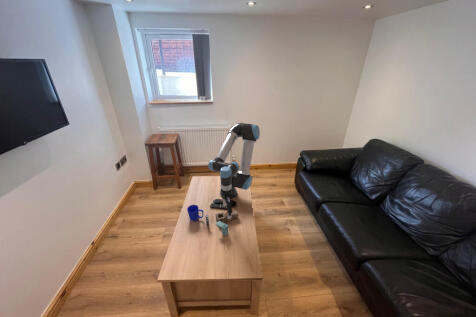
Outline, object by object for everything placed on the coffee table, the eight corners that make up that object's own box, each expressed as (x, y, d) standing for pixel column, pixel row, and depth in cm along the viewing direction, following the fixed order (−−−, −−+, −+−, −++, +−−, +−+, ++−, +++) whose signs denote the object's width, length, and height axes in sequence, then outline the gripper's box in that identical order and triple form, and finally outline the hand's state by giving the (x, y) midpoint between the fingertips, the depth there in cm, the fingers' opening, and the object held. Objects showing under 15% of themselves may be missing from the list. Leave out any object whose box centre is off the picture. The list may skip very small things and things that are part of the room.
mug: (202, 223, 142) (200, 213, 138) (187, 221, 145) (185, 211, 140) (206, 215, 149) (204, 206, 145) (191, 213, 152) (189, 203, 147)
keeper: (219, 228, 138) (218, 220, 135) (228, 232, 135) (228, 225, 131) (216, 231, 136) (215, 223, 132) (225, 236, 132) (225, 228, 129)
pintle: (207, 223, 143) (206, 214, 139) (209, 224, 142) (208, 216, 138) (205, 224, 141) (204, 216, 138) (207, 225, 140) (206, 217, 137)
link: (236, 213, 151) (236, 209, 149) (238, 219, 146) (238, 214, 143) (215, 218, 147) (215, 213, 144) (217, 224, 141) (217, 219, 139)
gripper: (217, 179, 143) (218, 202, 152) (225, 200, 121) (226, 225, 131) (227, 178, 145) (227, 200, 154) (236, 198, 123) (237, 222, 133)
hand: (227, 211), depth 142 cm, fingers open, 13 cm apart
